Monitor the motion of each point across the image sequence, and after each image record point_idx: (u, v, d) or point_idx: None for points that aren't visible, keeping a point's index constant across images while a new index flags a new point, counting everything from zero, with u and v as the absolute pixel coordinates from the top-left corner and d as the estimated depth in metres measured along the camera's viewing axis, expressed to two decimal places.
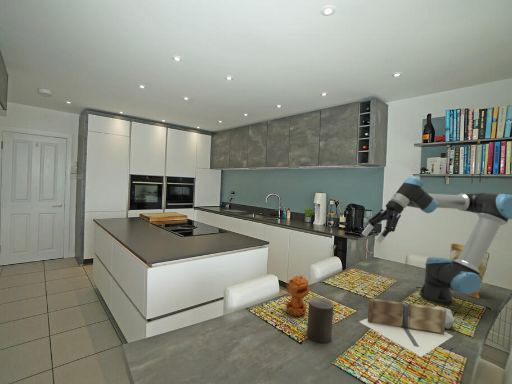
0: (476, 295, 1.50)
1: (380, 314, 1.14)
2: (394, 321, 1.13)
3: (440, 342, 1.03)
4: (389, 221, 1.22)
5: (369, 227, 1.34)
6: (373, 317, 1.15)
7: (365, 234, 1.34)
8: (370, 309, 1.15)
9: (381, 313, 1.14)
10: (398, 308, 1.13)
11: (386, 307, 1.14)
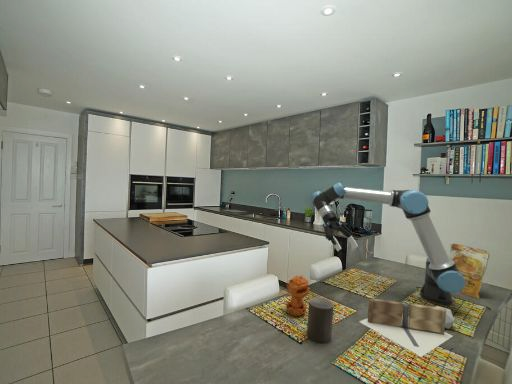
0: (476, 295, 1.50)
1: (380, 314, 1.14)
2: (394, 321, 1.13)
3: (440, 342, 1.03)
4: (329, 231, 1.38)
5: (350, 240, 1.40)
6: (373, 317, 1.15)
7: (355, 246, 1.38)
8: (370, 309, 1.15)
9: (381, 313, 1.14)
10: (398, 308, 1.13)
11: (386, 307, 1.14)
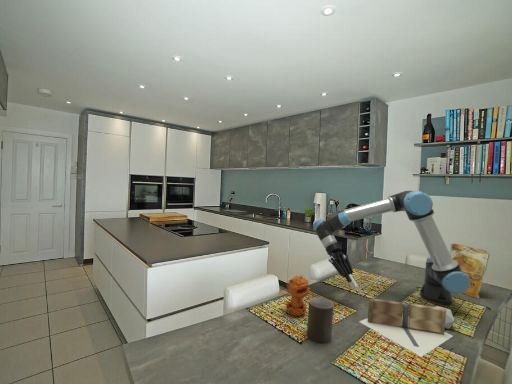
0: (476, 295, 1.50)
1: (380, 314, 1.14)
2: (394, 321, 1.13)
3: (440, 342, 1.03)
4: None
5: None
6: (373, 317, 1.15)
7: None
8: (370, 309, 1.15)
9: (381, 313, 1.14)
10: (398, 308, 1.13)
11: (386, 307, 1.14)
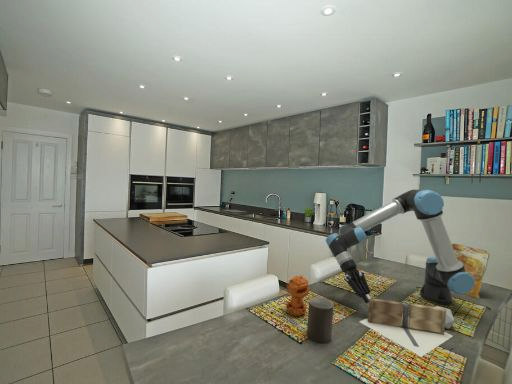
0: (476, 295, 1.50)
1: (380, 314, 1.14)
2: (394, 321, 1.13)
3: (440, 342, 1.03)
4: None
5: None
6: (373, 317, 1.15)
7: None
8: (370, 309, 1.15)
9: (381, 313, 1.14)
10: (398, 308, 1.13)
11: (386, 307, 1.14)
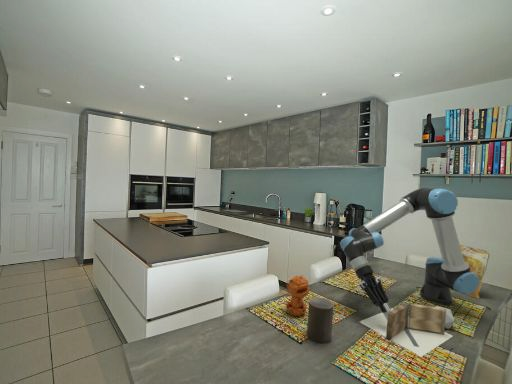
0: (476, 295, 1.50)
1: (396, 325, 1.06)
2: (402, 325, 1.10)
3: (440, 342, 1.03)
4: None
5: None
6: (392, 331, 1.04)
7: None
8: (391, 324, 1.03)
9: (396, 323, 1.06)
10: (404, 311, 1.10)
11: (399, 315, 1.07)
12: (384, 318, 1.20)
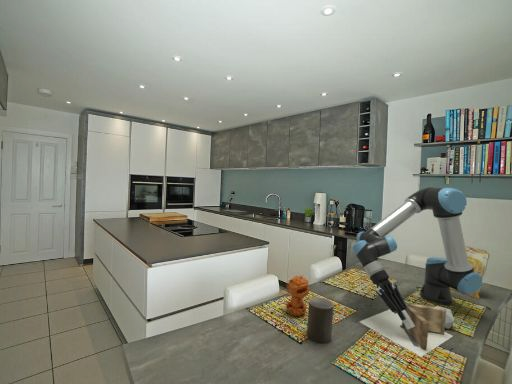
0: (476, 295, 1.50)
1: None
2: None
3: (440, 342, 1.03)
4: None
5: None
6: None
7: None
8: (427, 333, 0.98)
9: None
10: None
11: None
12: (384, 318, 1.20)
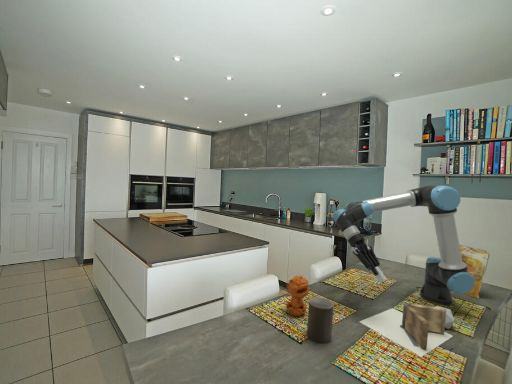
0: (476, 295, 1.50)
1: None
2: None
3: (440, 342, 1.03)
4: None
5: None
6: None
7: None
8: (427, 333, 0.98)
9: None
10: None
11: None
12: (384, 318, 1.20)
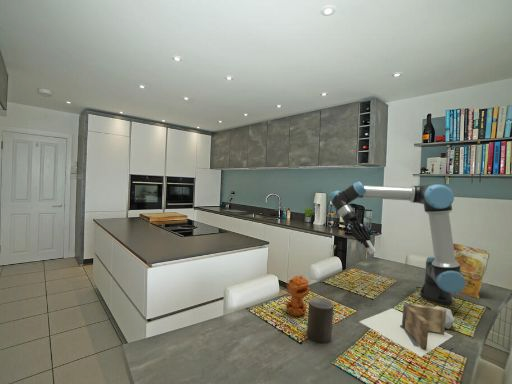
0: (476, 295, 1.50)
1: None
2: None
3: (440, 342, 1.03)
4: None
5: None
6: None
7: None
8: (427, 333, 0.98)
9: None
10: None
11: None
12: (384, 318, 1.20)
